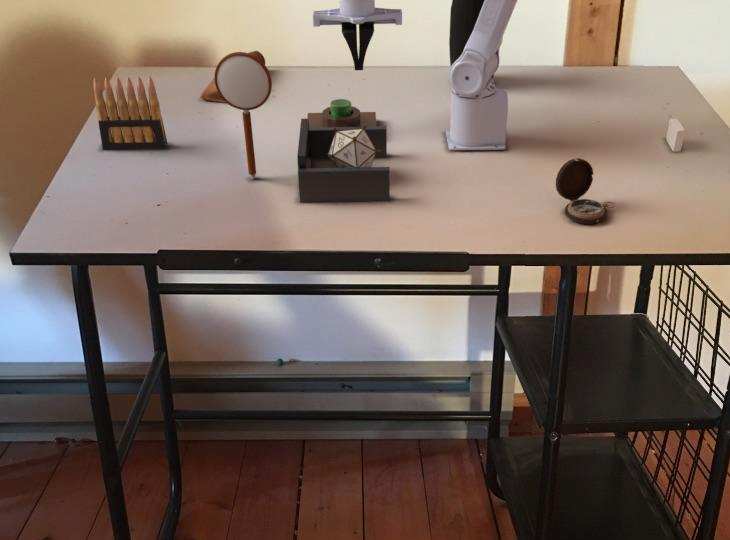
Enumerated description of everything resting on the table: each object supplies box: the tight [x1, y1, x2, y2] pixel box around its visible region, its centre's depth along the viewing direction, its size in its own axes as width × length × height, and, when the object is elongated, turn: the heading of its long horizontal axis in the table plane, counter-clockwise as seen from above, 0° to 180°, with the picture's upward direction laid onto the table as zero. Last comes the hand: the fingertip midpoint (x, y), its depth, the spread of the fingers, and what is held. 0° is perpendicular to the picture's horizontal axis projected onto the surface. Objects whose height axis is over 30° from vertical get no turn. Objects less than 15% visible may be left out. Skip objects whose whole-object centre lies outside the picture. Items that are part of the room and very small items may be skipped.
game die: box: [324, 124, 381, 168], centre depth 146 cm, size 9×8×10 cm
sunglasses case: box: [199, 50, 266, 104], centre depth 179 cm, size 18×7×7 cm
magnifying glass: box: [213, 51, 273, 180], centre depth 142 cm, size 9×2×20 cm, turn 83°
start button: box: [329, 98, 352, 117], centre depth 160 cm, size 4×4×2 cm
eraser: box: [665, 118, 686, 153], centre depth 156 cm, size 1×5×4 cm, turn 1°
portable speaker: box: [448, 0, 495, 80], centre depth 174 cm, size 9×9×20 cm
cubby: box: [297, 118, 391, 203], centre depth 147 cm, size 14×16×7 cm
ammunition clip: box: [93, 76, 168, 151], centre depth 154 cm, size 11×2×12 cm, turn 91°
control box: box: [306, 105, 377, 128], centre depth 162 cm, size 12×9×4 cm
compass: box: [555, 157, 616, 225], centre depth 137 cm, size 8×8×7 cm
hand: (358, 68), depth 158 cm, fingers closed
